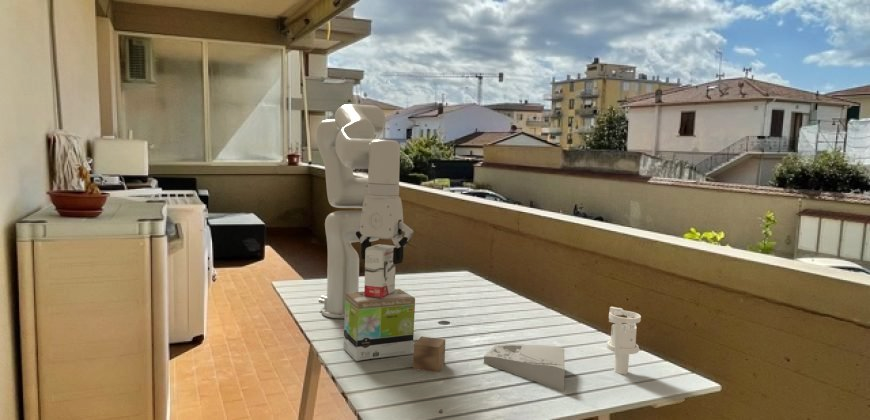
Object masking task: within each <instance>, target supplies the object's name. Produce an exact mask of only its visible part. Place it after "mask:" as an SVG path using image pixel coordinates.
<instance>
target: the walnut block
mask: <svg viewBox="0 0 870 420" xmlns="http://www.w3.org/2000/svg"><path fill="white" fill-rule="evenodd" d="M412 357H413V359H412V361H413V363H412V370H415V371H416V370H417V371H422V372H423V371H425V372H432V373H439V372H440V371H441V369H442V368H443V366H444V365H445V362H446V360H445V359H446V338H439V337H438V338H436V337H428V336H420V337H419V338H417V340H416V341H415V343H413V356H412Z"/></svg>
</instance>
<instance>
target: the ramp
mask: <svg viewBox="0 0 870 420" xmlns="http://www.w3.org/2000/svg"><path fill="white" fill-rule="evenodd" d="M483 364H484V365H488V366H490V367H494V368H497V369H499V370H502V371H505V372H507V373H510V374H514V375H516V376H520V377H522V378H523V379H528V380H530V381H533V382H537V383H538V384H542V385H545V386H548V387H550V388H552V389H553V388H554V389H556V390H559V391H562V392H564V391H565V372H566V371H565V370H566V368H565V348H564V347H560V346H557V345H556V346H555V345H543V344H542V345H541V344H540V345H539V344H521V343H498V344H495V345H494V346H493V347H492V348H491V349H490V350H489V351H488V352H487V353H486V354H485V355H484V356H483Z"/></svg>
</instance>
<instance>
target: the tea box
mask: <svg viewBox="0 0 870 420" xmlns="http://www.w3.org/2000/svg"><path fill="white" fill-rule="evenodd" d="M415 308H416V298H415V297H414V296H413V295H411V294H409V293H407V292H406V291H404V290H402V289H401V288H397V289H396V288H395V291H394V292H392V293H390V294H388V295H386V296H385V297H383V298H377V297H369V296H364V291H359V292H349V293H346V299H345V318H344V321H343V322H344V326H343V328H344V329H343V349H344V350H345V352H346V353H347V354H348V355H349V356H350V357H351V358H352V359H353V360H354V361H355V362H360V361H365V360H370V359H371V360H374V359H379V358H380V359H381V358H389V357H390V358H391V357H397V356H398V357H399V356H408V355H409V356H410V355H412V354H413V352H414V334H415V332H414V331H415V330H414V329H415V311H416V309H415Z"/></svg>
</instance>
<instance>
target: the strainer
mask: <svg viewBox="0 0 870 420" xmlns="http://www.w3.org/2000/svg"><path fill="white" fill-rule="evenodd" d="M622 316H625V317H622ZM641 320H642V316H641V314H639V313H637V312H635V311H630V310H624V308H622V307H616V306H609V312H608V322H609V323H612V325H611V329H610V339H609V340H607V341H606V349H608V350H609V351H611V352H613V353H615V354H614V366H613V367H614V368H613V371H614V373H616V374H619V375H627V374H628V373H629V358H630V355H635V354H638V353H639V348H640V347H639V345H638V344H637V343H636V342H637V324H638V323H640V322H641Z"/></svg>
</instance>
